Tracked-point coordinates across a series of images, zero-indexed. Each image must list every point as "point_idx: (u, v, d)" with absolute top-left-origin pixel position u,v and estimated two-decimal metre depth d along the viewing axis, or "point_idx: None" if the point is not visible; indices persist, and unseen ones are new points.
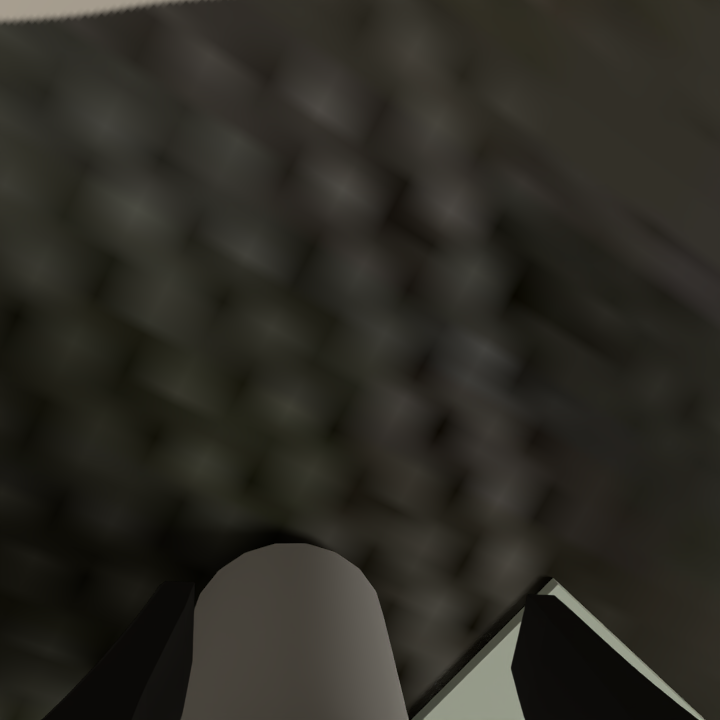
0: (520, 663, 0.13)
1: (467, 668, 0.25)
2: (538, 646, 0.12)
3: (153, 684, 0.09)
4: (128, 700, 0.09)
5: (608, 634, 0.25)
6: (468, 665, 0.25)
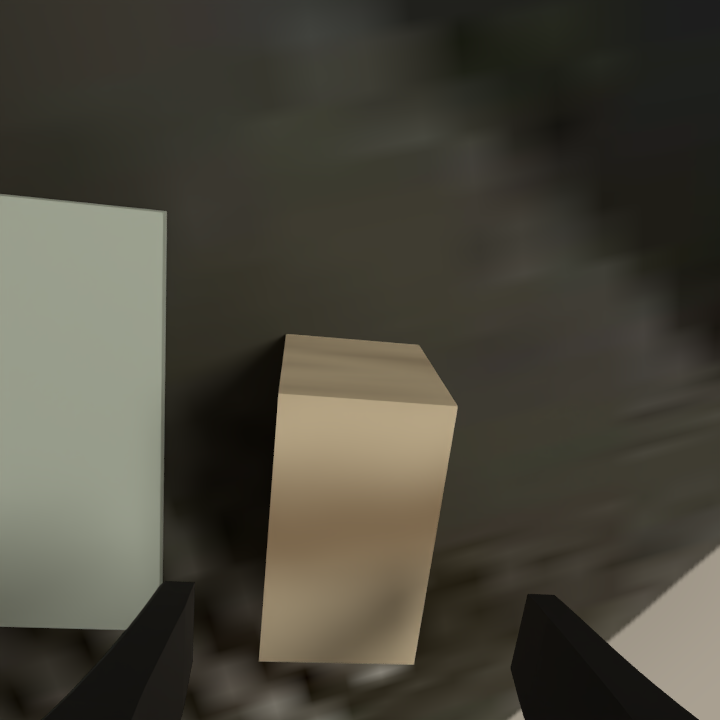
0: (520, 663, 0.13)
1: None
2: (538, 646, 0.12)
3: (153, 684, 0.09)
4: (128, 700, 0.09)
5: None
6: None
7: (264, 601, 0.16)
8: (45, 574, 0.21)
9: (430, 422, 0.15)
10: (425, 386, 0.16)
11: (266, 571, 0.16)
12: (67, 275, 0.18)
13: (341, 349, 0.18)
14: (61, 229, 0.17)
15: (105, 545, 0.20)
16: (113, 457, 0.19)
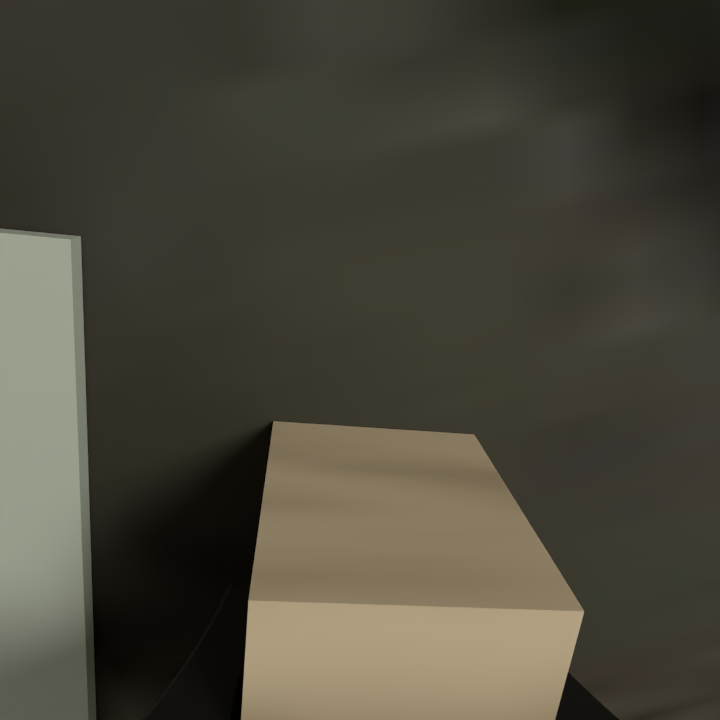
0: None
1: None
2: None
3: (239, 685, 0.09)
4: (222, 701, 0.09)
5: None
6: None
7: None
8: None
9: (531, 639, 0.08)
10: (511, 550, 0.09)
11: None
12: None
13: (359, 455, 0.11)
14: None
15: None
16: (11, 606, 0.13)
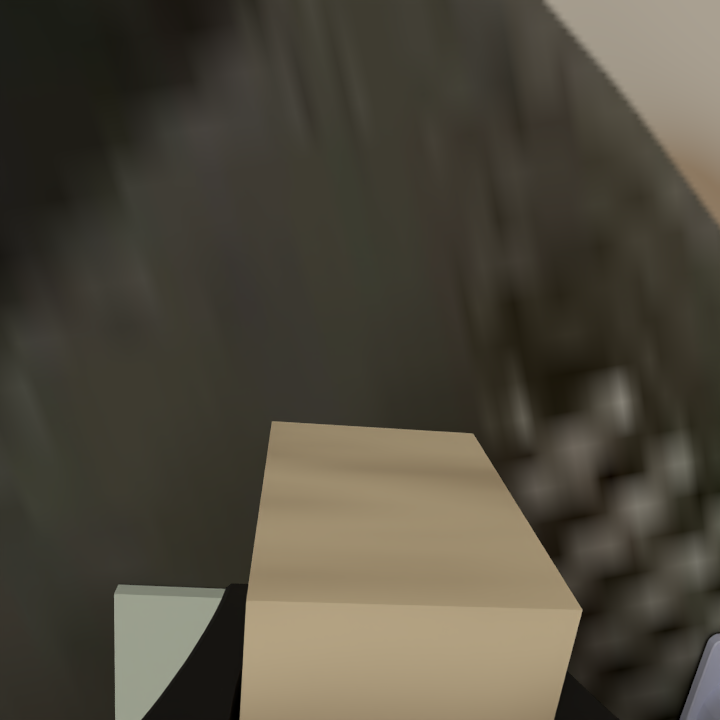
0: None
1: None
2: None
3: (238, 685, 0.09)
4: (221, 701, 0.09)
5: None
6: None
7: None
8: None
9: (529, 638, 0.08)
10: (509, 548, 0.09)
11: None
12: (173, 657, 0.22)
13: (357, 454, 0.11)
14: (136, 658, 0.22)
15: None
16: None
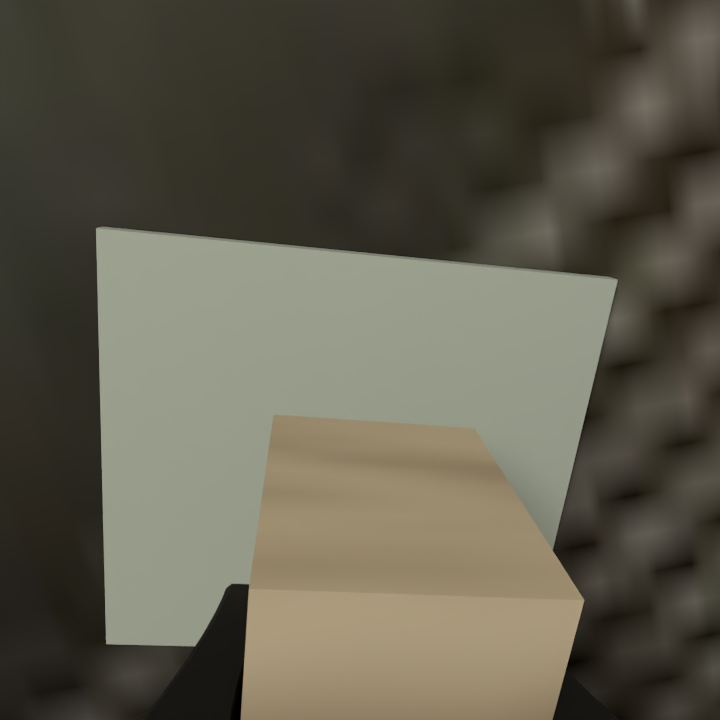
0: None
1: None
2: None
3: (239, 685, 0.09)
4: (222, 701, 0.09)
5: (107, 562, 0.19)
6: None
7: None
8: (519, 394, 0.19)
9: (531, 628, 0.08)
10: (511, 540, 0.09)
11: None
12: (174, 332, 0.17)
13: (359, 448, 0.11)
14: (126, 332, 0.17)
15: (491, 328, 0.18)
16: (382, 308, 0.17)
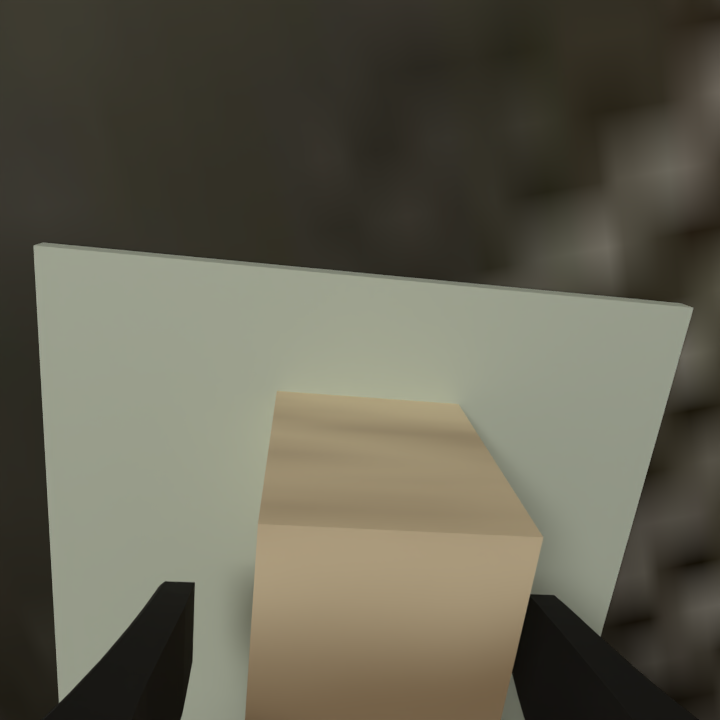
0: (520, 663, 0.13)
1: None
2: (538, 646, 0.12)
3: (153, 684, 0.09)
4: (128, 700, 0.09)
5: (60, 652, 0.16)
6: None
7: None
8: (568, 448, 0.15)
9: (499, 562, 0.09)
10: (484, 492, 0.10)
11: None
12: (137, 375, 0.14)
13: (354, 419, 0.13)
14: (76, 375, 0.13)
15: (535, 368, 0.14)
16: (399, 345, 0.14)
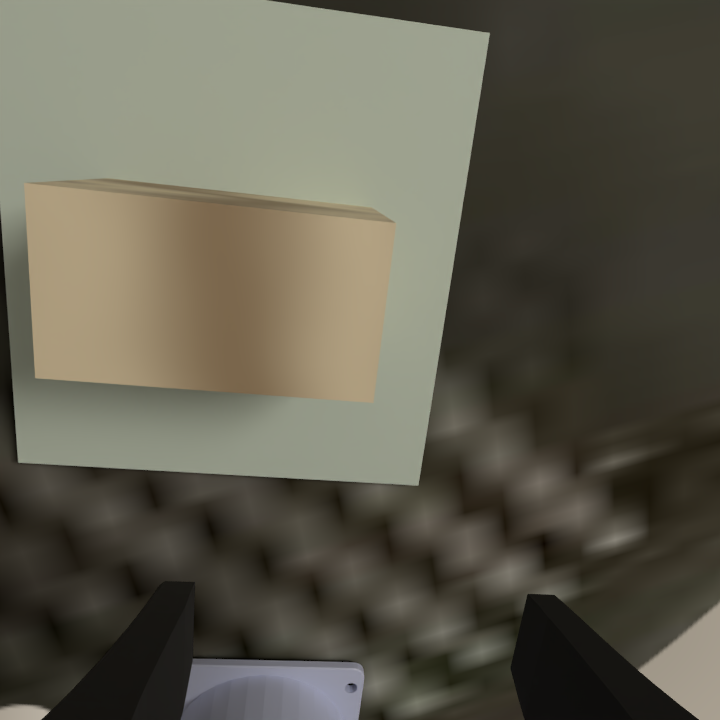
0: (520, 663, 0.13)
1: (1, 162, 0.18)
2: (538, 646, 0.12)
3: (153, 684, 0.09)
4: (128, 700, 0.09)
5: None
6: (3, 159, 0.18)
7: (122, 195, 0.13)
8: (319, 421, 0.21)
9: (357, 377, 0.14)
10: None
11: (168, 199, 0.13)
12: (388, 98, 0.18)
13: None
14: (390, 49, 0.17)
15: (381, 391, 0.21)
16: (402, 297, 0.20)
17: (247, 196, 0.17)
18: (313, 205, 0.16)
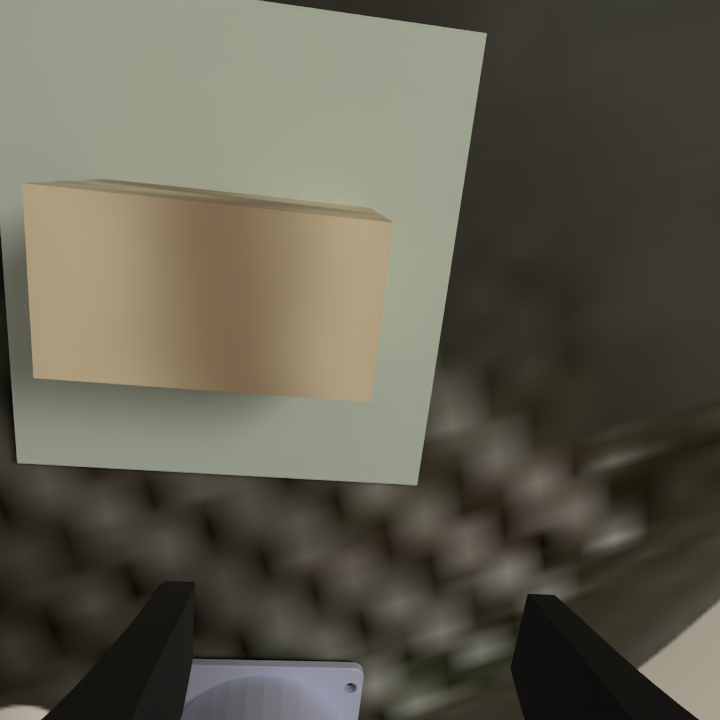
0: (520, 663, 0.13)
1: (0, 163, 0.18)
2: (538, 646, 0.12)
3: (153, 684, 0.09)
4: (128, 700, 0.09)
5: None
6: (1, 160, 0.18)
7: (120, 195, 0.13)
8: (317, 421, 0.21)
9: (354, 377, 0.15)
10: None
11: (165, 199, 0.13)
12: (386, 99, 0.18)
13: None
14: (387, 49, 0.17)
15: (379, 391, 0.21)
16: (401, 296, 0.20)
17: (245, 196, 0.17)
18: (311, 205, 0.16)
